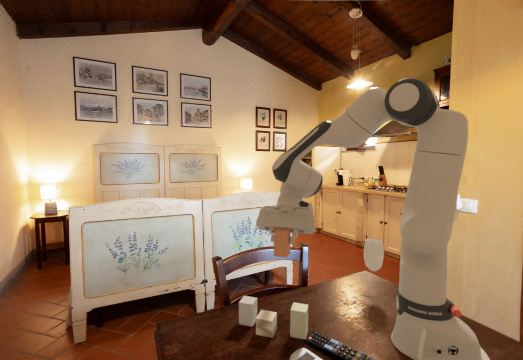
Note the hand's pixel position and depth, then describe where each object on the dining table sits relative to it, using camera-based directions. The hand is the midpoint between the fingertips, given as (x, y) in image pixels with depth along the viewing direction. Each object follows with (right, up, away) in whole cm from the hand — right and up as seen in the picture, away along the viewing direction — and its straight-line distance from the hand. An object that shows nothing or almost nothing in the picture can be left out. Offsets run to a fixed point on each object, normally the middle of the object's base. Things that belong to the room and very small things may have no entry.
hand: (281, 242), depth 89 cm
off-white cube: (-5, -25, -8) cm, 27 cm away
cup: (+36, -24, +16) cm, 46 cm away
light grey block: (-11, -25, -3) cm, 27 cm away
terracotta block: (0, -4, +1) cm, 4 cm away
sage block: (+4, -25, -9) cm, 27 cm away
